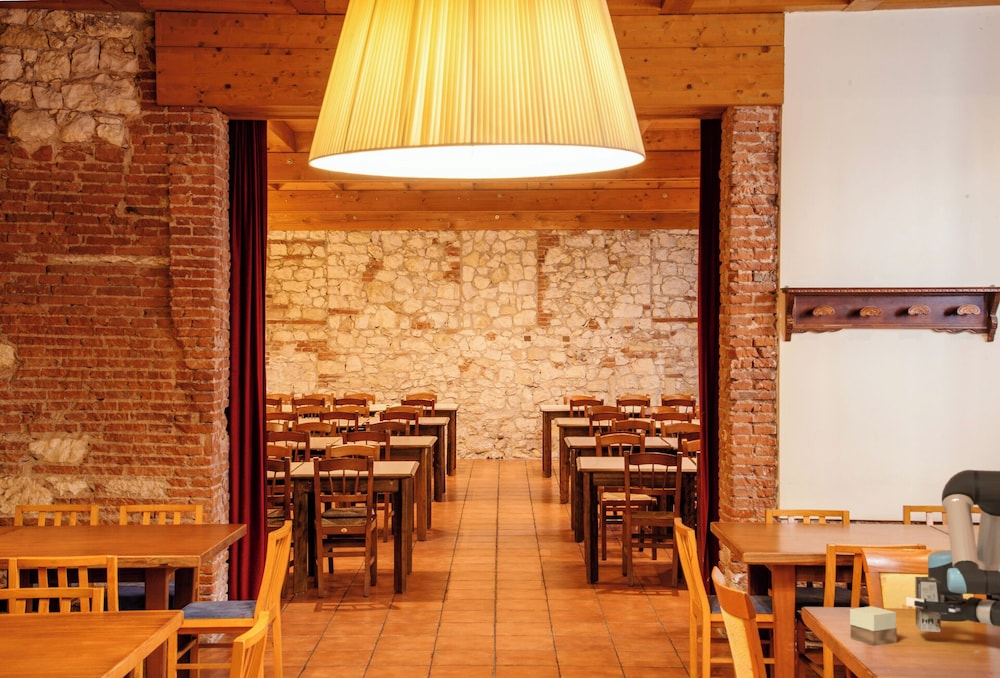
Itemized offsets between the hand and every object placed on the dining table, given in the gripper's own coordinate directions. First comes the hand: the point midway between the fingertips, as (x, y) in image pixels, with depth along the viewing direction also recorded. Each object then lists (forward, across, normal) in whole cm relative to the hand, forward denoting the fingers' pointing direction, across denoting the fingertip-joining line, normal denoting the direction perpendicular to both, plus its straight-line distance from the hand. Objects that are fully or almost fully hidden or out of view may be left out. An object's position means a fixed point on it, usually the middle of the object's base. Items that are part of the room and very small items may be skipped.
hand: (916, 598), depth 344 cm
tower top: (+7, -15, -8) cm, 18 cm away
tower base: (+7, -15, -13) cm, 21 cm away
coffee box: (-4, 0, -9) cm, 10 cm away
